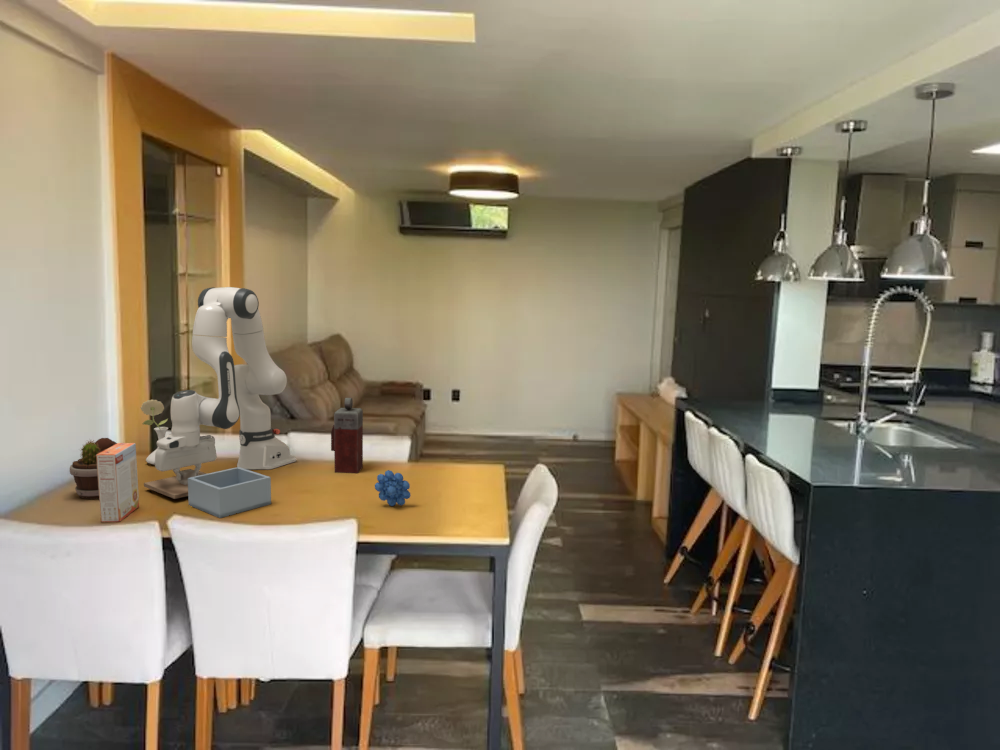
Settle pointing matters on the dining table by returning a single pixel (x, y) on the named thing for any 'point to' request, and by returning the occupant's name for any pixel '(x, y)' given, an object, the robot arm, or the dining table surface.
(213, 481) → the bin
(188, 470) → the lid
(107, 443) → the ice cream bowl
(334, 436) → the red grey canister
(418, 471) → the dining table surface
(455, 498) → the dining table surface
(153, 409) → the flower in vase
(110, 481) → the cracker box
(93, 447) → the flowerpot
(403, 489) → the blue knobby flower shape
